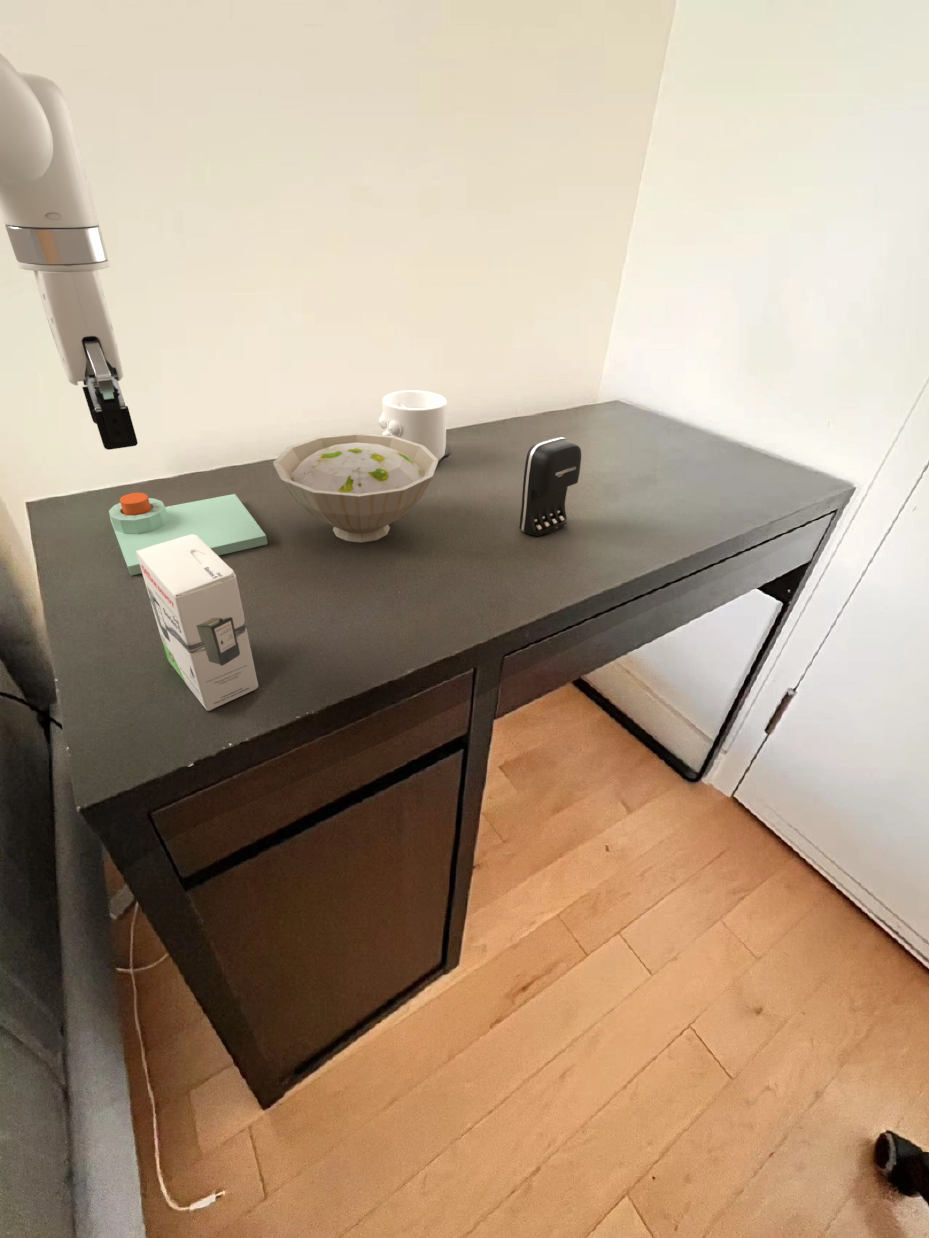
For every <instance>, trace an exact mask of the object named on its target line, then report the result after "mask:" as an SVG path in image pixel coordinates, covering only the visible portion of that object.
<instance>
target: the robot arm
mask: <svg viewBox="0 0 929 1238" xmlns="http://www.w3.org/2000/svg"><path fill="white" fill-rule="evenodd" d="M0 215H1V219H2V221H3V224H4V225H5V229H6V232H7V236H8V238H9V241H10V245H11V247H12V251H13V254H14V257H15V260H16V262H17V265H18V268H19V269H23V270H24V271H25V270H26V271H33V274H34V278H35V282H36V286H37V290H38V294H39V296H40V297H39V298H40V300H41V303H42V307H43V309H44V310H43V311H44V313H45V316H46V319H47V322H48V325H49V328H50V332H51V334H52V338H53V341H54V344H55V347H56V350H57V352H58V355H59V359H60V361H61V364H62V367H63V370H64V373H65V376H66V378H67V381H68V382H69V383H70V384H72V385H73V386H79V384H78V382H82V383H83V386H82V387H81V388H82V391H83V394H84V398H85V401H86V403H87V407H88V411H89V414H90V416H91V419H92V422H93V424H96V426H97V430H98V432H99V433H98V434H99V436H100V439H101V442H102V446H103V449H105V450H109V451H111V450H117V449H123V448H130V447H136V446H137V445H138V439H137V435H136V431H135V427H134V425H133V419H132V416H131V413H130V408H129V407H128V405H126V402H125V398H124V396H123V393H122V389H121V387H120V383H119V382H120V381H121V380H122V379H123V377H124V371H123V367H122V362H121V357H120V353H119V349H118V344H117V340H116V335H115V332H114V331H115V330H114V327H113V323H112V319H111V315H110V311H109V308H108V305H107V300H106V296H105V293H104V288H103V285H102V281H101V278H100V274H99V271H98V270H103V269H104V270H105V269H107V268H110V267H111V264H110V261H109V257H108V252H107V249H106V246H105V241H104V239H103V238H104V237H103V234H102V231H101V226H100V223H99V218H98V214H97V211H96V207H95V204H94V199H93V195H92V191H91V188H90V185H89V180H88V176H87V172H86V168H85V165H84V160H83V157H82V152H81V149H80V145H79V142H78V137H77V134H76V130H75V126H74V121H73V118H72V114H71V111H70V108H69V105H68V101H67V98H66V96H65V94H64V92H63V91H62V89H61V88H60V87H59V86H58V84H56V83H55V82H54V81H53V80H51V79H49V78H47V77H44V76H41V75H37V74H35V73H34V74H33V73H27V72H21V71H18V70H17V69H16V68H15V66H14V65H13V64H12V63H11V62H10V61H9V60H8V58H6V57H5V56H4V54H2V52H0Z"/></svg>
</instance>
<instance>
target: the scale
mask: <svg viewBox="0 0 929 1238" xmlns="http://www.w3.org/2000/svg"><path fill="white" fill-rule="evenodd" d="M148 499H149V502H150V506H151V511H150V512H147V513H145V514H141V515H135V516H134V515H125V514H124V513H123V509H122V506H121V503H120V502H119V503H117V504H114V505H113V506H112V507H111V508H110V509H109V510H108V515H109V519H110V522H111V525H112V528H113V531H114V534H115V536H116V539H117V542H118V546H119V548H120V551H121V553H122V557H123V559H124V560H125V564H126V567H127V570H128V573H129V575H130V576H131V577H132V576H137V575H141V574H142V571H141V567H140V564H139V560H138V557H137V553H136V551H137V550H139V549H143V548H146V547H149V546H152V545H156V544H159V543H163V542H166V541H170V540H173V539H177V538H180V537H183V536H187V535H190V534H193V535H197V536H198V537H199V538H200V539H201V540H202V541H203V542H204V543H205V544H206V545H207V546H208V547H209V548H210V549H211V550H212V551H214V552H215V553H216V554H217V555H218V556H219V557H220V556H222V555H227V554H231V553H236V552H240V551H244V550H249V549H253V548H258V547H261V546H266V545H268V538H267V535H266V534H265V532H264V531H263V529H262V528H261V527H260V525H259V524H258V523H257V521H256V520H255V518H254V517H253V516H252V515H251V513H250V512H249V511H248V509H247V507H246V506H245V505H244V504H243V503H242V501H241V500H240V499H239V497H238V496H237V494H236V493H233V494H226V495H222V496H216V497H211V498H206V499H201V500H200V499H199V500H195V501H188V502H185V503H178V504H174V505H168V506H165V504H164V502H163V501H162V500H159V499H157V498H154V497H153V498H152V497H148Z"/></svg>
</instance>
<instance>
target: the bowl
mask: <svg viewBox="0 0 929 1238" xmlns="http://www.w3.org/2000/svg"><path fill="white" fill-rule="evenodd" d="M439 461H440V460H438V459H437V458H436V457H435V456H434V455H433V454H432V453H431V452H430V451H429V450H428V449H427V448H426V447H425V446H423V445H420V444H417V443H414V442H411V441H408V440H405V439H401V438H398V437H395V436H386V435H382V434H374V433H373V434H371V433H361V432H360V433H359V432H353V433H343V434H335V435H334V434H332V435H324V436H317V437H314V438H310V439H308V440H305V441H303V442H302V441H301V442H298V443H296V444H294V445H290V446H287V447H286V448H285V449H284V451H282V452H281V454H279V456H277V458H276V459H275V460H274V461H273V462H272V464H273V466H274V468H275V470H276V472H277V474H278V476H279V479H280V480H281V482H282V483H283V485H284V486H285V488H286V489H287V490H288V492H289V493H290V494H291V496H292V498H293V499H294V500H295V502H296V503H297V504H298V505H300V506H301V507H302V508H303V509H305V510H306V511H307V512H309V513H310V514H311V515H312V516H313V517H314V518H315V519H317V520H318V521H321V522H322V523H325V524H327V525H330V526H332V527H333V528H332V532H333V533H334V534H335V536H336V537H337V538H339V539H341V540H344V541H346V542H353V543H368V542H373V541H378V540H380V539H381V538H384V537H386V536H388V533H389V531H390V529H391V526H389V525H390V524H392V523H394V522H396V521H398V520H400V519H402V518H403V517H404V516H405V515H406V514H407V513H408V512H409V511H410V510H411V509H412V508H413V507H414V506H415V505H416V504H417V503H418V502H419V501H420V500H421V499H422V497H423V496H424V493H425V492H426V490H427V488H428V486H429V484H430V482H431V481H432V479H433V476H434V474H435V471H436V468H437V466H438V463H439Z"/></svg>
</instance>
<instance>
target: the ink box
mask: <svg viewBox="0 0 929 1238" xmlns="http://www.w3.org/2000/svg"><path fill="white" fill-rule="evenodd" d="M136 553H137V557H138V560H139V564H140V567H141V571H142V573H141V574H142V576H143V581H144V584H145V588H146V590H147V594H148V597H149V601H150V604H151V605H150V606H151V607H152V611H153V615H154V618H155V621H156V625H157V628H158V633H159V635H160V638H161V641H162V645H163V648H164V651H165V652H164V653H165V655H166V658H167V660H168V662H169V664H170V665H171V666H172V667H173V669H174V670H175V672H176V673H177V674H178V675H179V677H180V678H181V679H182V681H183V682H184V684H185V685H186V686H187V688H188V689H189V690H190V691H191V693H192V694H193V695H194V696H195V698H196V699H197V700H198V701H199V703H200V704H201V705H202V706H203V708H204V709H205V710H206V711H207V712H209V711H212V710H215V709H216V708H218V707H220V706H222V705H225V704H227V703H229V702H231V701H234V700H236V699H238V698H239V697H242V696H244V695H246V694H248V693H251V692H253V691H256V690H257V689H258V688H259V682H258V678H257V673H256V668H255V667H256V666H255V664H254V658H253V653H252V649H251V643H250V638H249V634H248V628H247V624H246V619H245V614H244V609H243V604H242V599H241V594H240V589H239V583H238V580H237V574H236V573H235V571H234V570H233V568H231V567H230V566H229V565H228V564H227V563H226V562H225V561H224V560H223V559H222V558H221V557H220V555H219V556H218V555H217V554H216V553H215V552H214V551H212V550H211V549H210V548H209V547H208V546H207V545H206V544H205V543H204V542H203V541H202V540H201V539H200V538H199V537H198V536H197V535H193V534H190V535H187V536H183V537H180V538H177V539H173V540H170V541H166V542H163V543H159V544H156V545H152V546H149V547H146V548H143V549H139V550H137V551H136Z"/></svg>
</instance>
